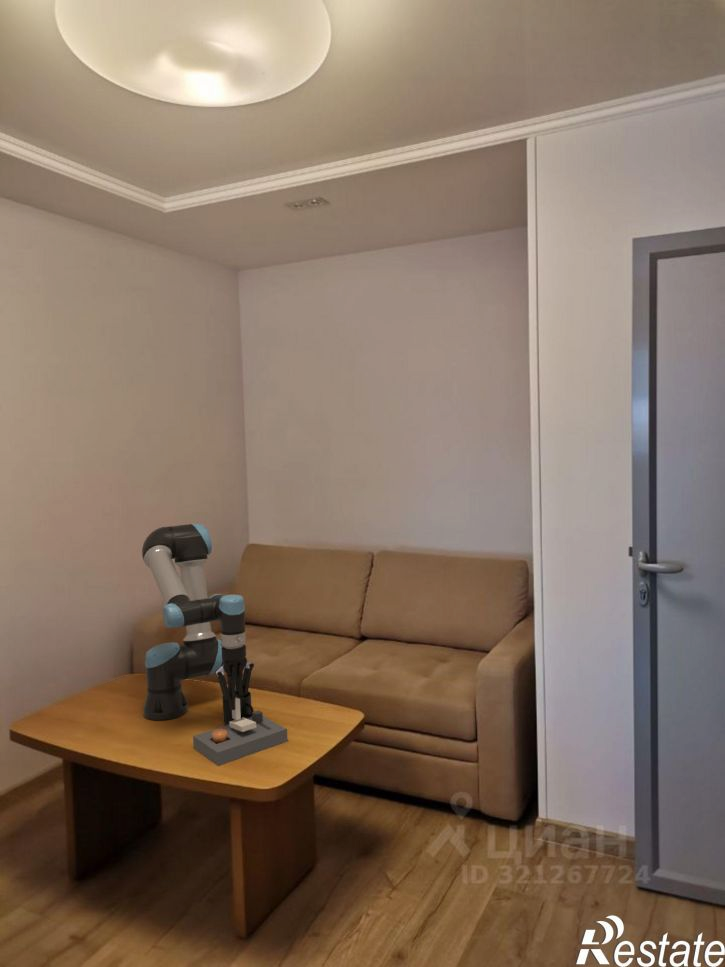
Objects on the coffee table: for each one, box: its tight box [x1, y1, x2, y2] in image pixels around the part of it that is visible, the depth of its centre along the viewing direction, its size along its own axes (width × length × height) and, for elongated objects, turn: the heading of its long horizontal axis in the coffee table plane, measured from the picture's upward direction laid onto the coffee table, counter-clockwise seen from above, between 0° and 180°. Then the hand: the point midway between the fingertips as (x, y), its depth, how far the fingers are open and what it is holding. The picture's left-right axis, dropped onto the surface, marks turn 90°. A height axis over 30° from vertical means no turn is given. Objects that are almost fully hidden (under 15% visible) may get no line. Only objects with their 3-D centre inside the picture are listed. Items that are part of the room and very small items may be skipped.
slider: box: [252, 710, 264, 723], centre depth 234 cm, size 2×2×3 cm
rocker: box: [229, 717, 256, 732], centre depth 227 cm, size 8×5×2 cm, turn 39°
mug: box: [221, 689, 254, 726], centre depth 245 cm, size 9×12×9 cm
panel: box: [192, 715, 288, 767], centre depth 227 cm, size 16×24×5 cm, turn 129°
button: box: [212, 729, 227, 744], centre depth 222 cm, size 4×4×6 cm
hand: (236, 718), depth 230 cm, fingers closed
